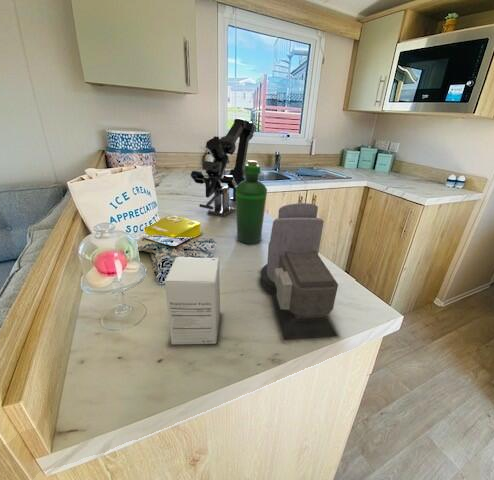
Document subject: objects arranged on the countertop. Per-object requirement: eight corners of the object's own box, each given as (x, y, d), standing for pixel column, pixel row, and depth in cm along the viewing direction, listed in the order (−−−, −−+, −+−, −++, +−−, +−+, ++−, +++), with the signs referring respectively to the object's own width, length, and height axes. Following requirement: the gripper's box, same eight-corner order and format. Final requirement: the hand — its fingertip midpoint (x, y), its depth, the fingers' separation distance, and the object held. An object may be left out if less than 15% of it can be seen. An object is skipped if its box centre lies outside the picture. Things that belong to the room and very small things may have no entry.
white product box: (180, 314, 62) (175, 255, 55) (220, 314, 62) (220, 256, 56) (169, 345, 53) (162, 280, 47) (216, 345, 54) (215, 281, 48)
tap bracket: (223, 216, 120) (223, 190, 115) (208, 213, 123) (207, 187, 118) (234, 210, 129) (235, 185, 124) (220, 207, 131) (219, 182, 126)
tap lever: (212, 211, 112) (211, 206, 111) (200, 208, 114) (198, 203, 112) (229, 192, 122) (228, 187, 121) (218, 189, 124) (217, 185, 122)
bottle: (268, 237, 103) (274, 161, 91) (255, 248, 94) (259, 165, 82) (243, 231, 107) (246, 157, 95) (228, 241, 98) (229, 160, 86)
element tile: (140, 237, 95) (138, 225, 93) (172, 224, 107) (171, 213, 105) (174, 248, 90) (172, 235, 88) (203, 233, 102) (202, 221, 100)
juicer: (256, 266, 83) (261, 187, 73) (307, 265, 86) (318, 188, 76) (274, 340, 57) (285, 231, 46) (346, 335, 60) (371, 231, 49)
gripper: (191, 150, 111) (177, 182, 106) (234, 155, 107) (221, 189, 102) (202, 167, 121) (189, 197, 116) (241, 172, 117) (230, 204, 112)
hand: (206, 197), depth 111 cm, fingers closed
